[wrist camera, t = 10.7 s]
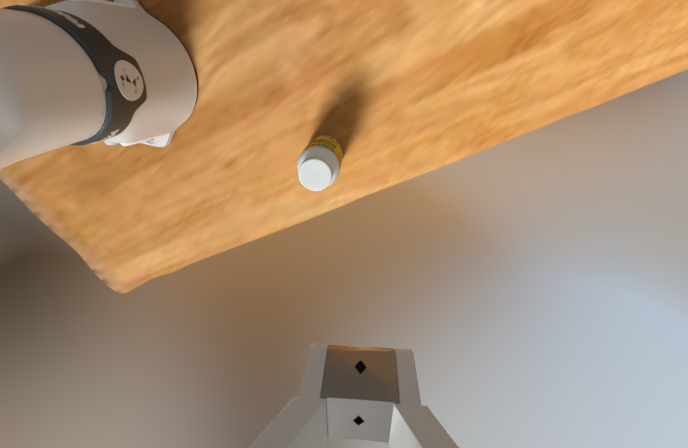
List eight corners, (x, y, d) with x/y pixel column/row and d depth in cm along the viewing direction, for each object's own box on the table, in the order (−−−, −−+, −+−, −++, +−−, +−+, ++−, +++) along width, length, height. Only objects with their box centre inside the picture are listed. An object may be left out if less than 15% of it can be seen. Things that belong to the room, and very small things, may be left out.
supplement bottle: (307, 170, 45) (292, 195, 37) (305, 133, 43) (290, 151, 34) (343, 171, 45) (336, 197, 37) (344, 135, 43) (337, 154, 34)
